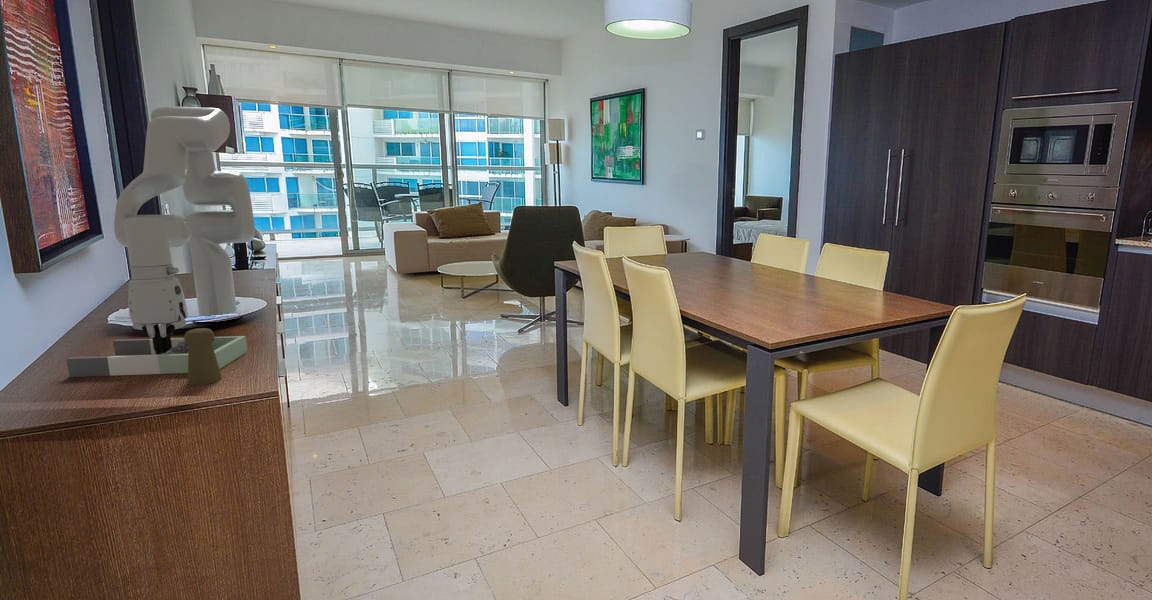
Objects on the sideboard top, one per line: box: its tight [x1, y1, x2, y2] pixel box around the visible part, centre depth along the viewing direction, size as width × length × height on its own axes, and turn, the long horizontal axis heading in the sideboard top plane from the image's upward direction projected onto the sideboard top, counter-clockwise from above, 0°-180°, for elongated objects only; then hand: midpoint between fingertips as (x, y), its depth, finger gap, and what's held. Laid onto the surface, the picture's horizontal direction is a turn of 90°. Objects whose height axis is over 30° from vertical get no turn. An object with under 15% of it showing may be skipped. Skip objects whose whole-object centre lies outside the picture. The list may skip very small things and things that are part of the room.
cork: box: [183, 327, 223, 386], centre depth 120 cm, size 6×6×11 cm
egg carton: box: [162, 342, 189, 354], centre depth 132 cm, size 11×8×4 cm
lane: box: [66, 335, 248, 378], centre depth 133 cm, size 16×29×4 cm, turn 96°
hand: (163, 353), depth 132 cm, fingers closed
